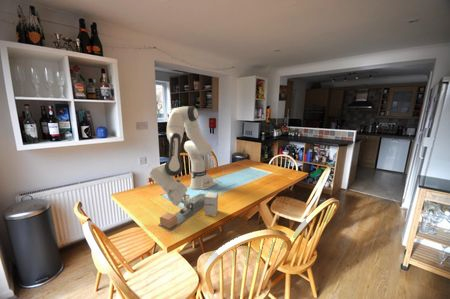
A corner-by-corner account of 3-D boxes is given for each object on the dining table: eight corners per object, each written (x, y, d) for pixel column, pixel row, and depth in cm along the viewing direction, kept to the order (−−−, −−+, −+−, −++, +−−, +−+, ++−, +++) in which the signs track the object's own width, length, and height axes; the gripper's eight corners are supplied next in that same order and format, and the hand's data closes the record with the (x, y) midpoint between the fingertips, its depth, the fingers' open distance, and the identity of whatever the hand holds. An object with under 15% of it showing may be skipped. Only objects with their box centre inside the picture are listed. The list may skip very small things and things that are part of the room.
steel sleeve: (200, 200, 141) (200, 193, 140) (206, 202, 139) (206, 195, 137) (187, 208, 129) (186, 201, 128) (193, 210, 127) (193, 203, 126)
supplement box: (204, 215, 123) (203, 196, 120) (207, 209, 130) (206, 191, 127) (215, 216, 122) (215, 197, 119) (218, 210, 129) (218, 192, 126)
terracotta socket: (167, 219, 116) (167, 211, 115) (177, 223, 112) (177, 215, 111) (160, 224, 112) (159, 216, 111) (170, 228, 108) (170, 220, 107)
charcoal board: (198, 199, 143) (198, 199, 143) (209, 203, 138) (209, 202, 138) (158, 225, 112) (158, 224, 112) (171, 231, 107) (171, 230, 107)
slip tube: (200, 199, 140) (199, 186, 137) (204, 200, 138) (204, 187, 136) (179, 213, 122) (178, 198, 120) (183, 214, 120) (183, 199, 118)
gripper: (169, 191, 112) (187, 207, 113) (179, 178, 131) (194, 192, 133) (162, 198, 113) (180, 214, 114) (173, 184, 133) (187, 198, 134)
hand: (187, 202), depth 124 cm, fingers closed on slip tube, 3 cm apart
